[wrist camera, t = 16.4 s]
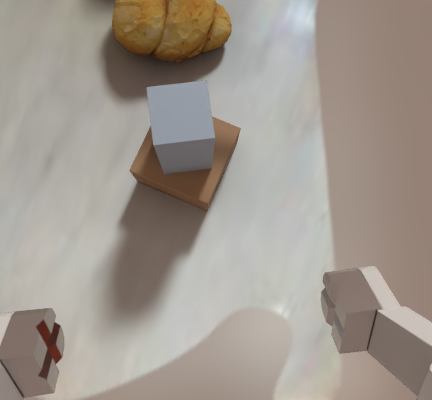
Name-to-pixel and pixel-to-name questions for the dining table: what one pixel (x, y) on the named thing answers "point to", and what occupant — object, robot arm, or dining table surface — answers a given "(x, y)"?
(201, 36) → the bread roll
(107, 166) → the dining table surface
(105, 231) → the dining table surface
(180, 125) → the slate block
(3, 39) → the dining table surface
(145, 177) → the walnut block
